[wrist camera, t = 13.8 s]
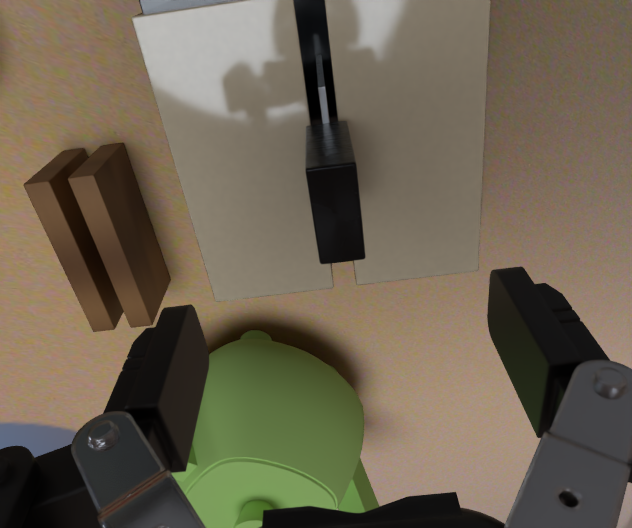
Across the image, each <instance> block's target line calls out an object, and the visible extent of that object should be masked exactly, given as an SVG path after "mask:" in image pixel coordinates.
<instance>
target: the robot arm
mask: <svg viewBox="0 0 632 528" xmlns="http://www.w3.org/2000/svg"><path fill="white" fill-rule="evenodd" d="M487 318H488V327H489V332H490V336H491V338H492V341H493V343H494V345H495V347H496V349H497V352H498V354H499V356H500V358H501V360H502V362H503V364H504V367H505V369H506V371H507V373H508V375H509V377H510V379H511V382H512V384H513V386H514V388H515V390H516V392H517V394H518V397H519V399H520V401H521V403H522V405H523V407H524V410H525V412H526V414H527V416H528V418H529V420H530V422H531V425H532V427H533V429H534V431H535V433H536V435H537V437H538V438H541V440H540V442H539V445H538V447H537V450H536V452H535V454H534V457H533V459H532V461H531V464H530V466H529V469H528V471H527V473H526V476H525V478H524V480H523V483H522V485H521V487H520V490H519V492H518V495H517V497H516V499H515V502H514V504H513V506H512V509H511V511H510V514H509V516H508V518H507V521H506V523H505V524H504V523H502V522H501V521H499V520H497V519H495V518H493V517H491V516H488V515H486V514H483V513H481V512H477V511H474V510H470V509H465V508H460V505H459V501H458V498H457V494H456V492H451V493H441V494H430V495H420V496H409V497H405V498H403V499H400V500H397V501H394V502H391V503H389V504H386V505H383V506H380V507H377V508H375V509H372V510H369V511H366V512H363V513H351V512H345V511H339V510H333V509H326V508H320V507H314V506H303V507H292V508H282V509H271V510H263V520H262V526H261V527H258V528H616V527H617V523H618V519H619V515H620V511H621V507H622V503H623V499H624V495H625V491H626V487H627V483H628V482H630V483H632V369H631V368H629V367H627V366H625V365H623V364H620V363H617V362H613V361H610V359H609V358H608V357H607V355H606V354H605V353H604V351H603V350H602V348H601V347H600V346H599V344H598V343H597V341H596V340H595V339H594V337H593V336H592V335H591V333H590V332H589V330H588V329H587V328H586V326H585V325H584V323H583V322H582V321H580V318H579V317H578V315H577V314H576V312H575V311H574V310H572V307H571V305H570V304H569V303H568V301H567V300H566V299H565V297H564V296H563V294H562V293H560V292H558V291H557V290H555V289H554V288H552V287H551V286H549V285H548V284H546V283H541V284H534V283H533V281H532V280H531V278H530V277H529V275H528V274H527V272H526V271H525V269H524V268H523V267H513V268H505V269H496V270H492V271H491V274H490V284H489V299H488V315H487ZM127 357H128V359H126V361H125V363H124V366H123V368H122V369H123V371H121V373H120V375H119V377H118V380H117V382H116V385H115V387H114V389H113V392H112V394H111V396H110V399H109V401H108V403H107V406H106V408H105V410H104V413H103V414H101V415H99V416H97V417H95V418H93V419H92V420H90V421H89V422H87V423H86V424H85V425H84V426H83V427H82V428H81V429H80V430H79V431H78V432H77V434H76V435H75V437H74V439H73V441H72V444H70V445H68V446H65V447H63V448H60V449H57V450H54V451H52V452H49V453H46V454H43V455H41V456H38V457H36V458H34V456H33V455H32V454H31V452H30V451H29V450H28V449H27V448H25V447H22V446H11V447H6V448H3V449H0V528H206V527H205V525H204V524H203V522H202V521H201V519H200V517H199V516H198V514H197V513H196V511H195V510H194V508H193V506H192V505H191V503H190V502H189V500H188V499H187V497H186V496H185V494H184V492H183V491H182V489H181V488H180V486H179V485H178V483H177V481H176V480H175V478H174V477H173V475H172V474H171V473H176V472H186V468H187V464H188V459H189V455H190V450H191V446H192V441H193V437H194V432H195V428H196V423H197V419H198V415H199V410H200V406H201V401H202V397H203V392H204V388H205V383H206V379H207V374H208V370H209V352H208V347H207V344H206V341H205V338H204V335H203V332H202V329H201V326H200V323H199V320H198V317H197V314H196V311H195V308H194V307H193V306H192V305H184V306H176V307H167V308H164V309H163V310H162V312H161V315H160V317H159V320H158V322H157V325H156V327H153V328H146V329H145V330H144V331H143V333H142V334H141V335H140V336H139V337H138V338H137V339H136V340H135V341H134V342H133V344H132V347H131V349H130V352H129V354H128V356H127Z"/></svg>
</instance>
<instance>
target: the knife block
mask: <svg viewBox="0 0 632 528" xmlns="http://www.w3.org/2000/svg"><path fill="white" fill-rule="evenodd" d="M24 187H25V190H26V192H27V194H28V196H29V198H30V200H31V202H32V204H33V206H34V208H35V210H36V213H37V215H38V217H39V219H40V221H41V223H42V225H43V227H44V229H45V231H46V233H47V236H48V238H49V240H50V242H51V244H52V246H53V248H54V250H55V252H56V254H57V257H58V259H59V261H60V263H61V265H62V267H63V269H64V271H65V273H66V275H67V277H68V280H69V282H70V284H71V286H72V288H73V290H74V292H75V294H76V296H77V298H78V300H79V303H80V305H81V307H82V309H83V311H84V313H85V315H86V317H87V319H88V321H89V324H90V326H91V328H92V330H93V332H97V331H105V330H114V329H115V328H116V326H117V324H118V322H119V320H120V318H121V316H122V314H123V312H124V313H125V315H126V317H127V320H128V322H129V325H130V327H131V328H132V327H141V326H150V325H153V322H154V320H155V317H156V315H157V312H158V310H159V307H160V305H161V302H162V300H163V297H164V295H165V293H166V290H167V288H168V285H169V283H170V277H169V274H168V271H167V268H166V265H165V263H164V260H163V257H162V254H161V251H160V248H159V245H158V242H157V240H156V237H155V234H154V231H153V228H152V225H151V222H150V219H149V217H148V214H147V211H146V208H145V205H144V202H143V199H142V196H141V194H140V191H139V188H138V185H137V182H136V179H135V176H134V173H133V171H132V168H131V165H130V162H129V159H128V156H127V153H126V150H125V147H124V145H123V143H118V144H111V145H103V146H100V147H99V148H98V149H97V150H96V151H95V152H94V153H93V154H92V155H91V156H90V157H89V158H88V157H87V155H86V152H85V150H84V149H83V148H82V149H75V150H68V151H62V152H61V153H60V154H59V155H57V156H56V157H55V158H54V159H53V160H52V161H50V162H49V163H48V164H47V165H46V166H45V167H43V168H42V169H41V170H40V171H39V172H37V173H36V174H35V175H34V176H33V177H32V178H30V179H29V180H28V181H27V182H26V183H25V184H24Z"/></svg>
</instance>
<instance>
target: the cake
mask: <svg viewBox="0 0 632 528" xmlns="http://www.w3.org/2000/svg"><path fill="white" fill-rule="evenodd" d="M490 1H491V0H139V2H140V6H141V9H142V13H140V14H138V15H135V16H133V17H131V19H132V23H133V26H134V29H135V33H136V36H137V39H138V43H139V46H140V49H141V53H142V56H143V60H144V63H145V66H146V70H147V73H148V76H149V80H150V83H151V86H152V90H153V93H154V96H155V100H156V103H157V106H158V110H159V113H160V117H161V120H162V123H163V127H164V130H165V133H166V137H167V140H168V143H169V147H170V150H171V153H172V157H173V160H174V163H175V167H176V170H177V174H178V177H179V180H180V184H181V187H182V190H183V194H184V197H185V200H186V204H187V207H188V210H189V214H190V217H191V220H192V224H193V227H194V231H195V234H196V237H197V241H198V244H199V247H200V251H201V254H202V257H203V261H204V264H205V267H206V271H207V274H208V277H209V281H210V284H211V288H212V291H213V294H214V298H215V301H216V302H219V301H228V300H236V299H245V298H253V297H262V296H270V295H279V294H287V293H296V292H304V291H313V290H321V289H329V288H333V287H334V285H333V272H332V263H330V264H320V262H319V255H318V249H317V243H316V236H315V230H314V223H313V217H312V211H311V204H310V198H309V192H308V185H307V179H306V172H305V141H306V126H310V125H317V124H323V122H322V114H321V107H320V99H319V91H318V81H317V67H316V55H321V57H322V65H323V73H324V81H325V89H326V97H327V105H328V114H329V122H330V123H331V122H338V121H347V123H348V128H349V132H350V137H351V141H352V146H353V150H354V155H355V159H356V164H357V173H358V183H359V193H360V203H361V214H362V224H363V234H364V244H365V254H366V257H365V259H362V260H354V261H353V265H354V272H355V279H356V284H357V285H363V284H372V283H380V282H389V281H397V280H406V279H414V278H423V277H431V276H440V275H448V274H457V273H465V272H474V271H478V268H479V246H480V224H481V201H482V179H483V157H484V134H485V112H486V90H487V68H488V45H489V23H490Z"/></svg>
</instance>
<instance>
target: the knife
mask: <svg viewBox="0 0 632 528" xmlns="http://www.w3.org/2000/svg"><path fill="white" fill-rule="evenodd" d="M316 67H317V81H318V91H319V99H320V107H321V114H322V122H323V124H317V125H310V126H306V141H305V172H306V179H307V185H308V192H309V198H310V204H311V211H312V217H313V223H314V230H315V236H316V243H317V249H318V255H319V262H320V264H330V263H338V262H346V261H354V260H362V259H365V257H366V254H365V244H364V234H363V224H362V214H361V203H360V193H359V183H358V173H357V164H356V159H355V155H354V150H353V146H352V141H351V137H350V132H349V128H348V123H347V121H338V122H331V123H330V122H329V114H328V105H327V97H326V89H325V81H324V73H323V65H322V57H321V55H316Z"/></svg>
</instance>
